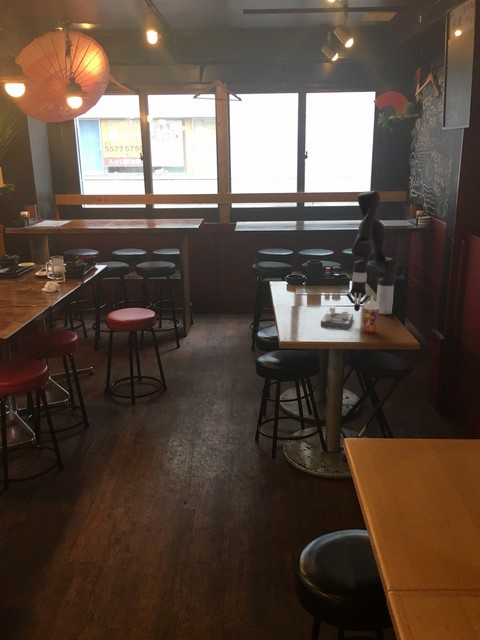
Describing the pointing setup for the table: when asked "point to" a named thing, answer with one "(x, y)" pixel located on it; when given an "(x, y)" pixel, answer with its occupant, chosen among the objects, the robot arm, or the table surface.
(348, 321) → the breaker panel
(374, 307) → the smoothie
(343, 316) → the block
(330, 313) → the breaker near
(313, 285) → the table surface
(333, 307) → the block
